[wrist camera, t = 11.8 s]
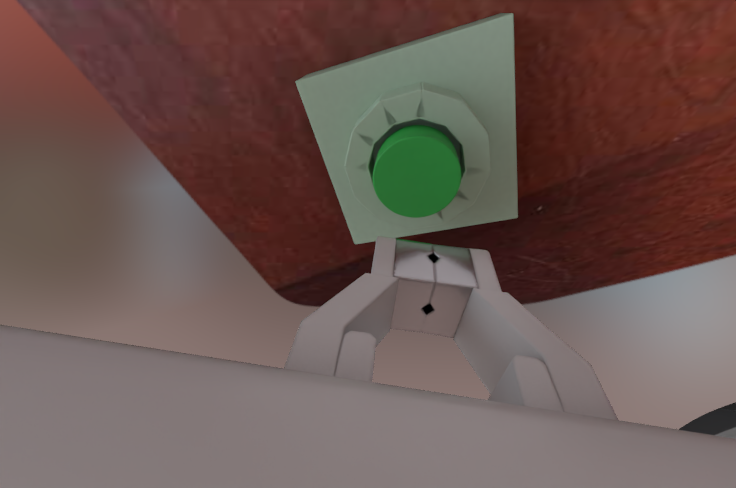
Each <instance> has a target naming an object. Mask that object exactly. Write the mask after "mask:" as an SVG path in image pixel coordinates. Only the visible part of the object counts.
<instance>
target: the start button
mask: <svg viewBox="0 0 736 488" xmlns="http://www.w3.org/2000/svg"><path fill="white" fill-rule="evenodd" d="M461 177H462V175H461V166H460V163H459V159H458V156H457V153H456V150H455V147H454V145H453V143H452V142H451V141H450V139H449V138H448V137H447V136H446V135H445V134H444V133H442V132H441V131H439V130H437V129H435V128H433V127H430V126H425V125H412V126H407V127H404V128H401V129H399V130H397V131H395V132H394V133H392V134H391V135H390V136H389V137H388V138H387V139H386V140H385V141H384V142H383V144H382V145H381V147H380V149H379V151H378V154H377V158H376V162H375V165H374V170H373V186H374V190H375V193H376V195H377V197H378V198H379V200H380V201H381V202H382V203H383V204H384V206H386V207H387V208H388V209H389V210H391V211H392V212H394V213H396V214H398V215H401V216H405V217H411V218H420V217H426V216H430V215H433V214H435V213H437V212H439V211H441V210H442V209H444V208H445V207H446V206H447V205H448V204H449V203H450V202H451V201H452V200H453V199H454V197H455V196H456V194H457V192H458V190H459V187H460V184H461Z"/></svg>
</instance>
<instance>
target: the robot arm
mask: <svg viewBox="0 0 736 488" xmlns="http://www.w3.org/2000/svg"><path fill="white" fill-rule="evenodd" d="M390 329H397V330H405V331H413V332H422V333H427V334H434V335H440V336H445V337H450V338H454V339H453V340H454V341H455V343H456V344H457V346H458V347H459V349H460V350H461V352H462V353H463V354H464V356H465V358H466V359H467V360H468V362H469V363H470V365H471V366H472V368H473V369H474V371H475V372H476V374H477V375H478V377H479V378H480V380H481V381H482V383H483V384H484V385H485V387H486V388H487V390H488V391H489V393H490V394H491V396H490V397H489V399H488V400H482V399H476V398H469V397H463V396H457V395H451V394H444V393H437V392H431V391H425V390H418V389H412V388H405V387H399V386H393V385H386V384H380V383H373V382H372V376H373V368H374V358H375V348H376V346H377V345H378V344H379V343H380V342H381V340H382V339H383V338H384V337H385V336H386V334H387V333H388V332H389V331H390ZM0 488H736V439H735V438H728V437H722V436H715V435H709V434H703V433H696V432H690V431H683V430H677V429H670V428H664V427H657V426H651V425H644V424H638V423H631V422H625V421H619V420H618V418H617V416H616V414H615V412H614V410H613V408H612V406H611V404H610V402H609V400H608V398H607V396H606V394H605V392H604V390H603V388H602V386H601V384H600V382H599V380H598V378H597V376H596V374H595V372H594V370H593V368H592V366H591V364H590V363H588V362H587V361H586V360H585V359H584V358H583V357H581V356H580V355H579V354H578V353H577V352H576V351H574V350H573V349H572V348H571V347H570V346H569V345H568V344H566V343H565V342H564V341H563V340H562V339H560V338H559V337H558V336H557V335H556V334H555V333H554V332H552V331H551V330H550V329H549V328H548V327H547V326H545V325H544V324H543V323H542V322H541V321H540V320H538V319H537V318H536V317H535V316H534V315H533V314H532V313H530V312H529V311H528V310H527V309H526V308H525V307H523V306H522V305H521V304H520V303H519V302H518V301H517V300H515V299H514V298H513V297H512V296H511V295H510V294H508V293H505V292H502V291H501V288H500V285H499V281H498V278H497V275H496V272H495V269H494V266H493V263H492V260H491V256H490V253H489V252H488V251H487V250H480V249H471V248H468V249H467V248H458V247H450V246H442V245H434V244H430V243H423V242H417V241H410V240H404V239H397V238H396V239H395V238H390V237H383V236H378V237H377V240H376V246H375V252H374V258H373V264H372V270H371V274H369V273H365V274H364V275H362V276H361V277H360V278H358V279H357V280H356V281H354V282H353V283H352V284H350V285H349V286H348V287H346V288H345V289H344V290H342V291H341V292H340V293H338V294H337V295H336V296H334V297H333V298H332V299H330V300H329V301H328V302H326V303H325V304H324V305H322V306H321V307H320V308H318V309H317V310H316V311H314V312H313V313H312V314H310V315H309V316H308V317H306V318H305V319H304V320H302V321H301V323H300V326H299V329H298V332H297V334H296V337H295V340H294V342H293V345H292V348H291V351H290V353H289V356H288V359H287V361H286V364H285V367H284V369H283V368H277V367H270V366H263V365H257V364H251V363H244V362H238V361H231V360H224V359H218V358H212V357H206V356H199V355H192V354H186V353H179V352H173V351H166V350H160V349H154V348H147V347H141V346H134V345H128V344H122V343H115V342H109V341H102V340H95V339H89V338H82V337H76V336H70V335H63V334H57V333H50V332H44V331H37V330H31V329H24V328H18V327H12V326H5V325H0Z"/></svg>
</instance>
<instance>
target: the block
mask: <svg viewBox="0 0 736 488" xmlns="http://www.w3.org/2000/svg"><path fill="white" fill-rule="evenodd" d="M296 85H297V88H298V91H299V93H300V96H301V99H302V102H303V104H304V107H305V110H306V112H307V115H308V118H309V121H310V123H311V126H312V129H313V132H314V134H315V137H316V140H317V142H318V145H319V148H320V151H321V153H322V156H323V159H324V162H325V164H326V167H327V170H328V173H329V175H330V178H331V181H332V183H333V186H334V189H335V192H336V194H337V197H338V200H339V203H340V205H341V208H342V211H343V214H344V216H345V219H346V222H347V224H348V227H349V230H350V233H351V235H352V238H353V241H354V244H361V243H367V242H373V241H376V240H377V237H378V236H383V237H390V238H398V237H404V236H410V235H416V234H422V233H428V232H434V231H440V230H447V229H453V228H459V227H465V226H471V225H477V224H483V223H490V222H496V221H502V220H508V219H514V218H518V194H517V148H516V102H515V55H514V14H513V13H500V14H497V15H494V16H491V17H487V18H484V19H481V20H478V21H475V22H472V23H468V24H465V25H462V26H459V27H456V28H453V29H449V30H446V31H443V32H440V33H437V34H434V35H430V36H427V37H424V38H421V39H418V40H415V41H411V42H408V43H405V44H402V45H399V46H396V47H393V48H389V49H386V50H383V51H380V52H377V53H374V54H370V55H367V56H364V57H361V58H358V59H355V60H351V61H348V62H345V63H342V64H339V65H336V66H332V67H329V68H326V69H323V70H320V71H317V72H314V73H310V74H307V75H306V76H304V77H302V78H300V79H299V80H297V81H296ZM412 125H425V126H430V127H433V128H435V129H437V130H439V131H441V132H442V133H444V134H445V135H446V136H447V137H448V138H449V139H450V141H451V142H452V143H453V145H454V147H455V150H456V153H457V156H458V159H459V163H460V166H461V175H462V177H461V184H460V187H459V190H458V192H457V194H456V196H455V197H454V199H453V200H452V201H451V202H450V203H449V204H448V205H447V206H446V207H445V208H444V209H442V210H441V211H439V212H437V213H435V214H433V215H430V216H426V217H420V218H411V217H405V216H401V215H398V214H396V213H394V212H392V211H391V210H389V209H388V208H387V207H386V206H384V204H383V203H382V202H381V201H380V200H379V198H378V197H377V195H376V193H375V190H374V186H373V170H374V165H375V162H376V158H377V154H378V151H379V149H380V147H381V145H382V144H383V142H384V141H385V140H386V139H387V138H388V137H389V136H390V135H391V134H392V133H394V132H395V131H397V130H399V129H401V128H404V127H407V126H412Z"/></svg>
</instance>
